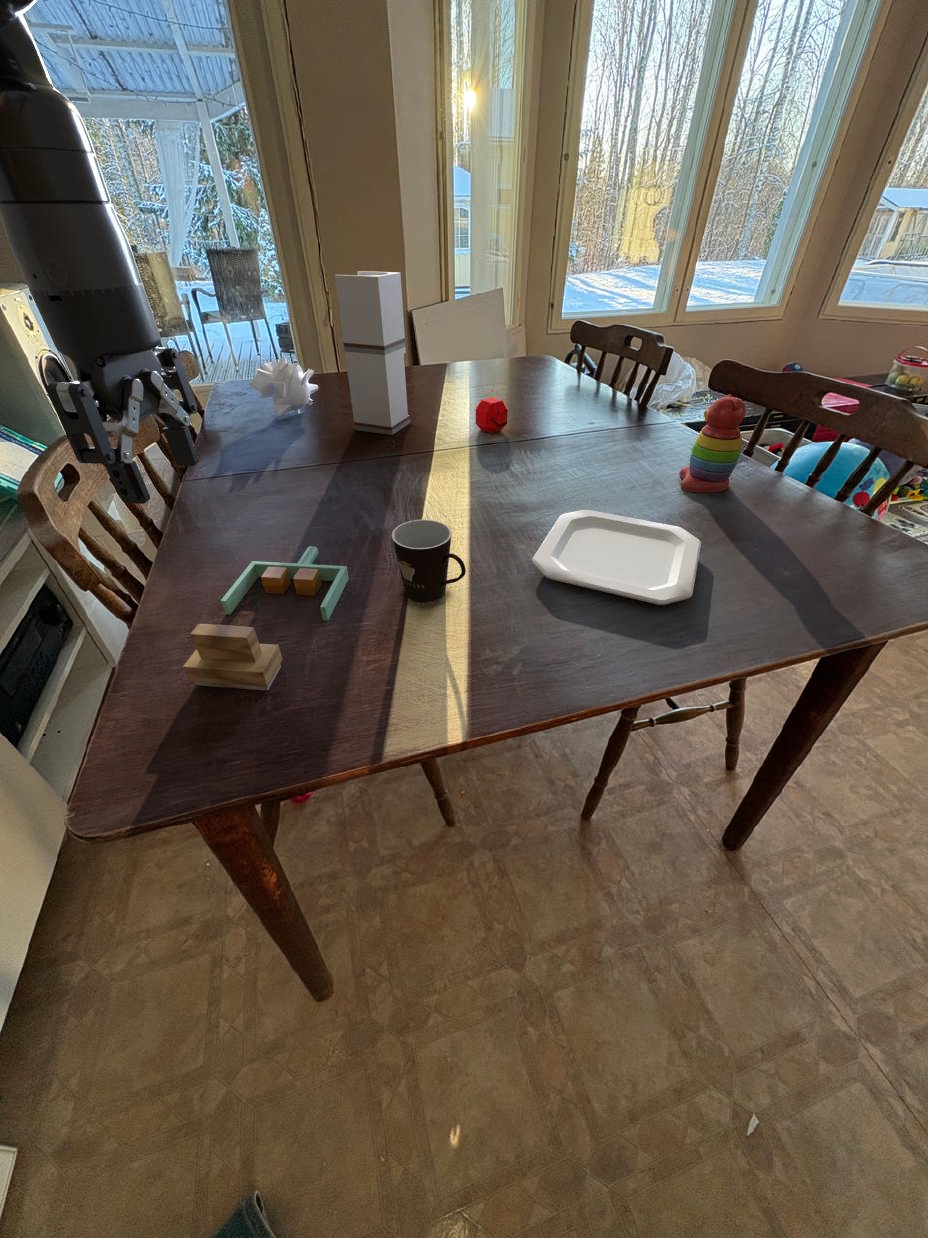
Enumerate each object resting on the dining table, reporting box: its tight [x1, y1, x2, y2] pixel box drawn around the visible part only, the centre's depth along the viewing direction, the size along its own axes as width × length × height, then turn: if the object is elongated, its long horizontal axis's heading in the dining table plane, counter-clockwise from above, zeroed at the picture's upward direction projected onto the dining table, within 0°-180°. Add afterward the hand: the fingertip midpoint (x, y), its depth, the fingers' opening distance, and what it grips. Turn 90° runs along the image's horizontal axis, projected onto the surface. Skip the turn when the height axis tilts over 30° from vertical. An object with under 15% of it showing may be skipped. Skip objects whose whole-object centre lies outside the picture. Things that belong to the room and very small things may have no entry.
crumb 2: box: [292, 568, 323, 597], centre depth 79 cm, size 3×3×3 cm
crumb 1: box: [260, 567, 292, 595], centre depth 79 cm, size 3×3×3 cm
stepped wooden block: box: [182, 623, 284, 691], centre depth 63 cm, size 10×5×8 cm, turn 84°
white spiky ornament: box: [249, 355, 319, 417], centre depth 147 cm, size 20×17×15 cm
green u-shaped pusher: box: [220, 545, 350, 621], centre depth 80 cm, size 17×16×2 cm
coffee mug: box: [391, 519, 467, 603], centre depth 76 cm, size 12×9×10 cm
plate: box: [531, 509, 702, 606], centre depth 86 cm, size 25×25×2 cm
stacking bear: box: [678, 393, 747, 494], centre depth 105 cm, size 11×10×18 cm
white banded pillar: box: [334, 270, 411, 436], centre depth 130 cm, size 11×11×35 cm
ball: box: [475, 397, 509, 434], centre depth 136 cm, size 8×8×8 cm
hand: (164, 482), depth 49 cm, fingers open, 8 cm apart
